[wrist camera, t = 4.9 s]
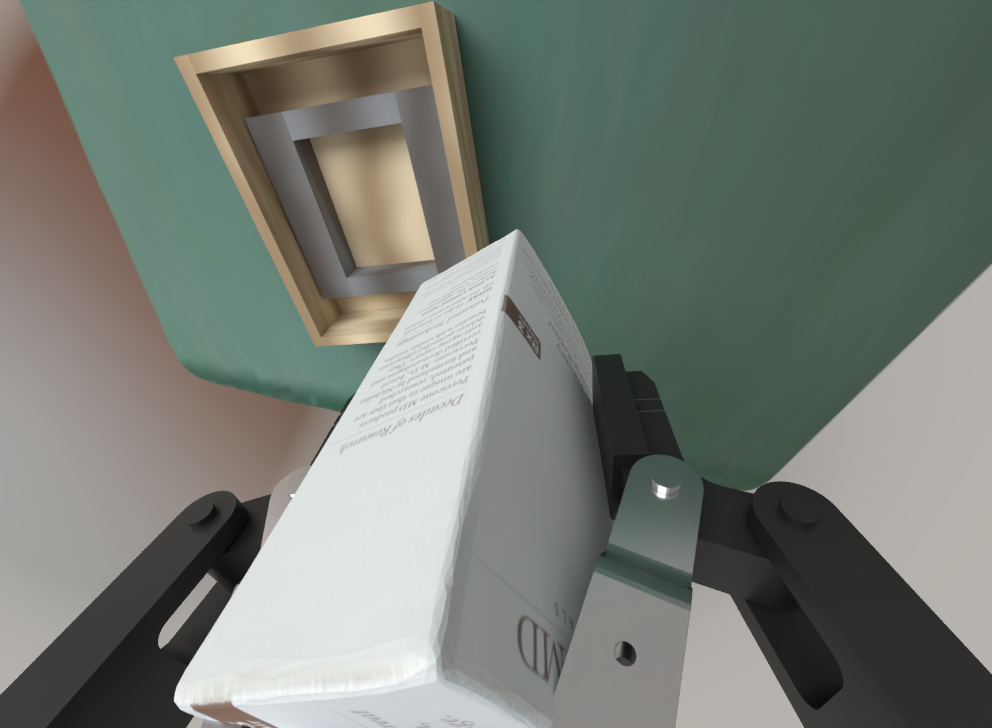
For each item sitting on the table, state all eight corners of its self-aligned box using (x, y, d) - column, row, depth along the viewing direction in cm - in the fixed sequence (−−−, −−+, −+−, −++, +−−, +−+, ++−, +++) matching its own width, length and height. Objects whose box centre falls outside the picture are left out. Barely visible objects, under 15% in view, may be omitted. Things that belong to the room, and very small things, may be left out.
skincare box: (594, 353, 16) (707, 823, 6) (498, 395, 17) (457, 818, 7) (515, 215, 13) (468, 685, 3) (408, 281, 14) (142, 726, 4)
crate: (454, 14, 22) (433, 1, 18) (498, 302, 32) (491, 334, 28) (234, 59, 24) (173, 57, 20) (342, 315, 35) (315, 346, 31)
